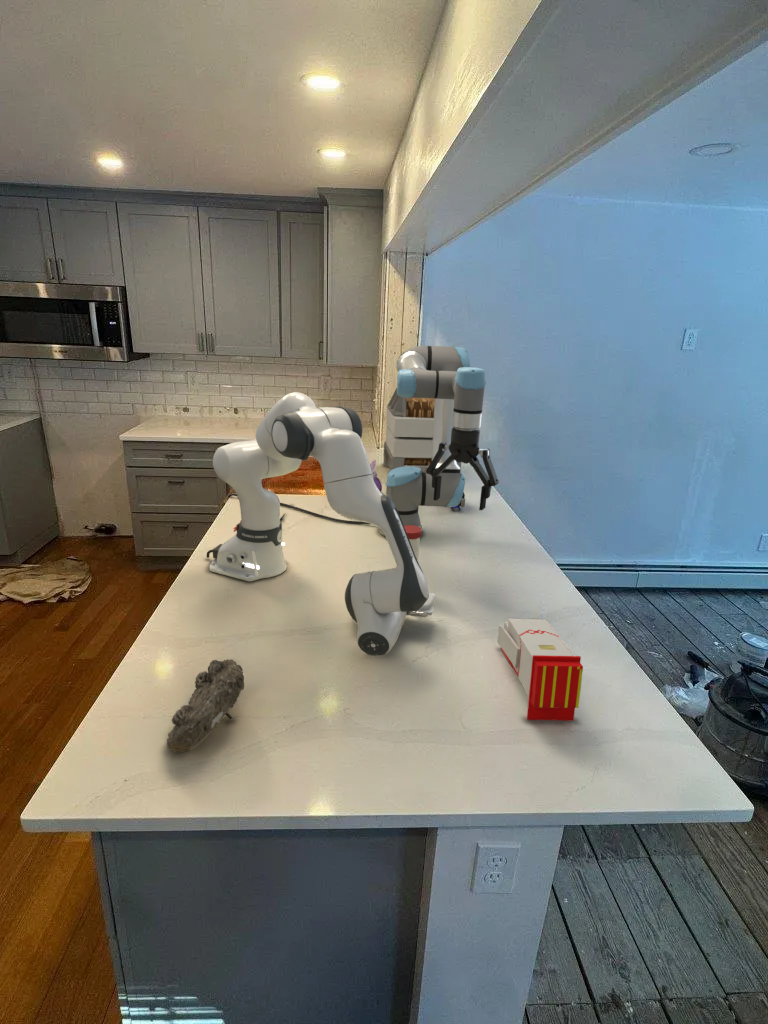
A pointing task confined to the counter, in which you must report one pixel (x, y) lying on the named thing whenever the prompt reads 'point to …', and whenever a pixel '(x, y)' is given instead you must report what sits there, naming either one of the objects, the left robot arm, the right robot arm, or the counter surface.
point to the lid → (413, 531)
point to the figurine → (375, 476)
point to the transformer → (409, 432)
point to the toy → (542, 668)
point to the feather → (281, 518)
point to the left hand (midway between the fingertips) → (400, 584)
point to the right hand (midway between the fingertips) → (459, 504)
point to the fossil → (206, 705)
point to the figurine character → (460, 503)
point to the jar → (415, 546)
